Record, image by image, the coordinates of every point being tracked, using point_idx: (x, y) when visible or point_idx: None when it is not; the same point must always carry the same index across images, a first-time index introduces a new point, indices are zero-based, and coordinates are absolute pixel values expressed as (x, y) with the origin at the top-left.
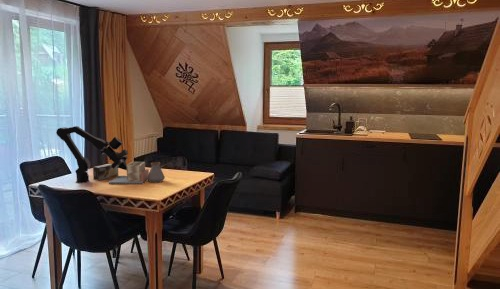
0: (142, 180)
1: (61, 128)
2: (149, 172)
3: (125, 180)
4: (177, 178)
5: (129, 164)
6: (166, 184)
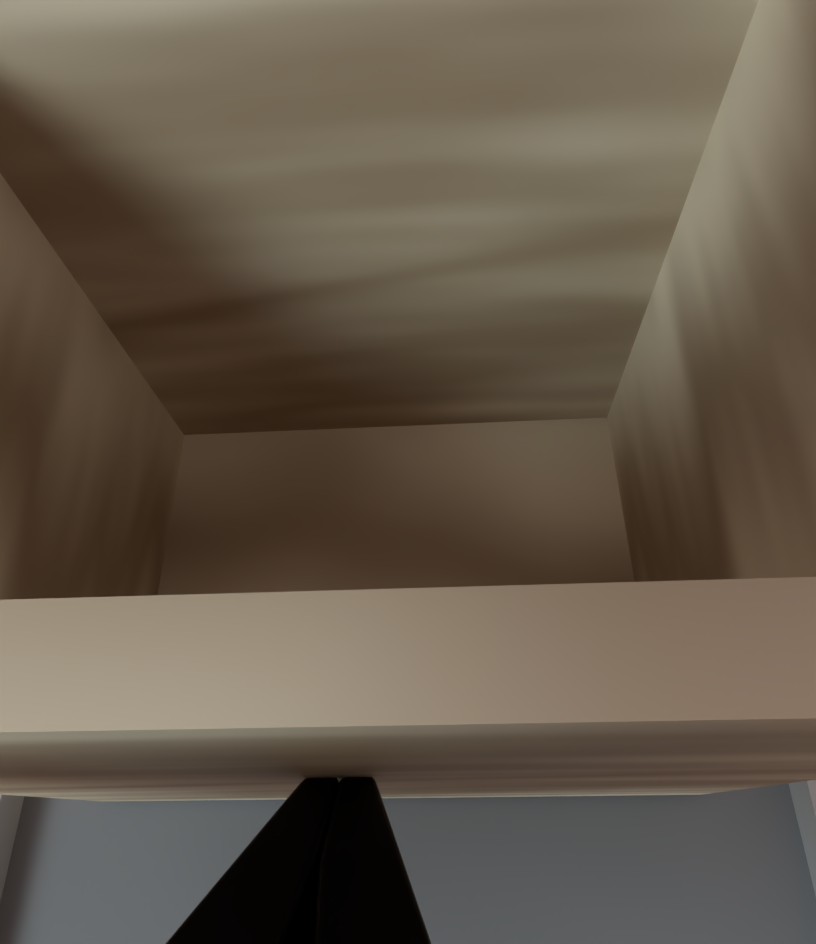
0: None
1: None
2: None
3: (522, 929)
4: None
5: (608, 594)
6: None
